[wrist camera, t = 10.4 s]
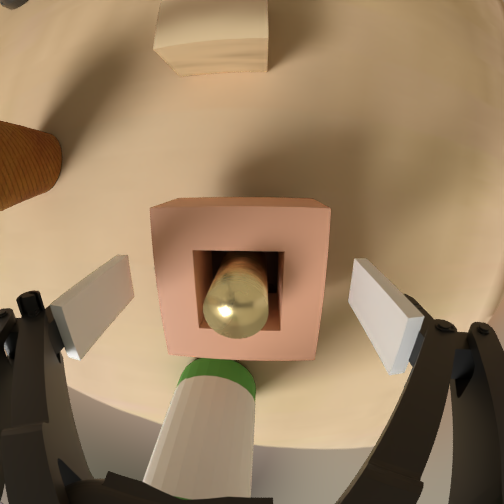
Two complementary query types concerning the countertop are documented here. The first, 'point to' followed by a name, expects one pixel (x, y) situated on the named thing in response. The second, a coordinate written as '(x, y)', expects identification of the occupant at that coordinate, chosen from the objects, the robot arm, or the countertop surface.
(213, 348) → the square frame block
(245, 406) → the wine bottle
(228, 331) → the light bulb
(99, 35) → the countertop surface
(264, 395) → the countertop surface
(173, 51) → the stand
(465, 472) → the robot arm
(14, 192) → the disposable coffee cup
